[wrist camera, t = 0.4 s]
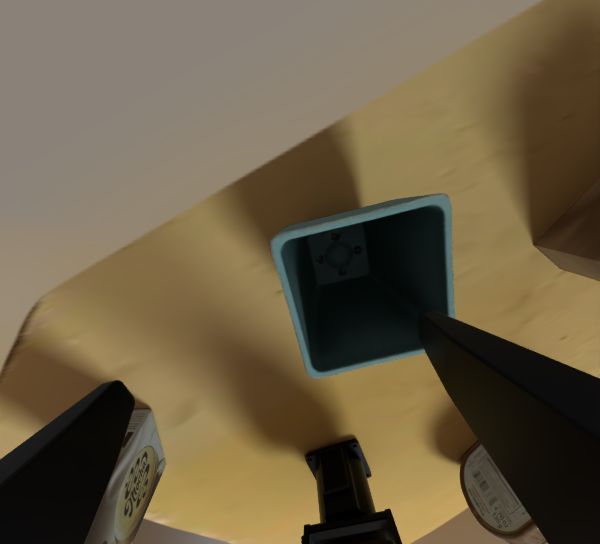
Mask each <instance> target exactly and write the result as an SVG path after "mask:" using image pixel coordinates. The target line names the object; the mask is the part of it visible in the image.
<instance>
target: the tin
mask: <svg viewBox="0 0 600 544" xmlns="http://www.w3.org/2000/svg"><path fill="white" fill-rule="evenodd" d="M460 483H461V488H462V491H463V494H464V497H465V499H466V502H467V504H468V506H469V508H470V509H471V512H472V513H473V515H474V516H475V518H476V519H477V521H478V522H479V523H480V524H481V525H482V526H483V527H484V528H485V529H486V530H488V531H489V532H490V533H492V534H494V535H495V536H497V537H499V538H501V539H503V540H505V541H507V542H508V543H510V544H547V543H548V542H547V541H546V539H545V538H544V536H543V535H542V534H541V532H540V531H539V529H538V528H537V526H536V525H535V523H534V522H533V520H532V519H531V517H530V516H529V514H528V513H527V511H526V510H525V508H524V507H523V505H522V504H521V502H520V501H519V499H518V498H517V496H516V495H515V493H514V492H513V490H512V489H511V487H510V486H509V484H508V483H507V481H506V480H505V478H504V477H503V475H502V474H501V472H500V471H499V469H498V468H497V466H496V465H495V463H494V462H493V460H492V459H491V457H490V456H489V454H488V453H487V451H486V450H485V449H484V447H483V446H482V444H481V443H480V441H478V442H477V443H475V444H474V445H473V446H472V447H471V448H470V449H469V450H468V451H467V452H466V454H465V455H464V457H463V459H462V462H461V466H460Z"/></svg>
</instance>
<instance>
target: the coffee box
mask: <svg viewBox="0 0 600 544" xmlns="http://www.w3.org/2000/svg"><path fill="white" fill-rule="evenodd" d="M165 466H166V463H165V459H164V455H163V451H162V448H161V444H160V440H159V437H158V433H157V429H156V426H155V422H154V418H153V414H152V411H151V410H150V409H140V410H133V413H132V416H131V419H130V422H129V426H128V429H127V432H126V435H125V439H124V442H123V445H122V448H121V452H120V455H119V458H118V461H117V464H116V466H115V469H114V472H113V474H112V477H111V479H110V482H109V484H108V487H107V489H106V492H105V494H104V497H103V499H102V502H101V504H100V507H99V509H98V512H97V514H96V517H95V519H94V522H93V524H92V527H91V529H90V532H89V534H88V537H87V539H86V542H85V544H132V543H133V541H134V538H135V536H136V534H137V531H138V529H139V527H140V524H141V522H142V520H143V517H144V515H145V513H146V510H147V508H148V506H149V503H150V501H151V499H152V496H153V494H154V492H155V489H156V487H157V485H158V482H159V480H160V478H161V475H162V473H163V471H164V469H165Z"/></svg>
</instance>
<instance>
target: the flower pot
mask: <svg viewBox="0 0 600 544" xmlns="http://www.w3.org/2000/svg"><path fill="white" fill-rule="evenodd" d="M333 234H337V235H338V238H337V239H336V240H334V239H332V235H333ZM356 247H359V248H360V252H359V253H355V252H354V249H355V248H356ZM270 248H271V252H272V256H273V259H274V262H275V266H276V269H277V272H278V275H279V278H280V281H281V285H282V288H283V292H284V295H285V298H286V301H287V305H288V308H289V311H290V315H291V318H292V322H293V325H294V329H295V332H296V336H297V340H298V343H299V347H300V351H301V354H302V357H303V361H304V365H305V369H306V372H307V374H308V375H309V376H310V377H311V378H313V379H316V378H322V377H327V376H331V375H337V374H339V373H344V372H348V371H351V370H355V369H359V368H362V367H367V366H371V365H375V364H380V363H384V362H388V361H393V360H397V359H401V358H405V357H409V356H414V355H418V354H423V353H426V352H425V350H424V348H423V346H422V344H421V342H420V339H419V315H420V314H421V313H424V312H429V311H437V312H439V313H442V314H444V315H447V316H449V317H451V318H454V319H455V301H454V284H453V282H454V278H453V260H452V259H453V256H452V250H453V249H452V248H453V247H452V207H451V202H450V199H449V196H448V195H446V194H443V193H441V194H432V195H425V196H416V197H409V198H402V199H395V200H390V201H386V202H382V203H378V204H375V205H371V206H367V207H363V208H359V209H355V210H351V211H347V212H343V213H339V214H335V215H331V216H327V217H323V218H319V219H315V220H311V221H307V222H303V223H299V224H294V225H290V226H287V227H285V228H284V229H282V230H281V231H280V232H279V233H277V234H276V235H275V236H273V237H272V239H271V241H270ZM319 256H321V257H323V261H322V262H318V261H317V258H318V257H319ZM341 269H344V270H345V273H344V274H343V275H341V274H340V273H339V271H340V270H341Z"/></svg>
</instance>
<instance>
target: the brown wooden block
mask: <svg viewBox="0 0 600 544" xmlns="http://www.w3.org/2000/svg"><path fill="white" fill-rule="evenodd" d="M534 246H535V247H536V248H537V249H538V250H539V251H540V252H542V253H543V254H544V255H545V256H546V257H547V258H548V259H550V260H551V261H552V262H553V263H554V264H555V265H556V266H557V267H559V268H560V269H562V270H565V271H569V272H572V273H575V274H578V275H581V276H585V277H588V278H591V279H594V280H597V281H600V178H599V179H598V180H597V181H596V182H595V183H594V184H593V185H592V186H591V187H590V188H589V189H588V190H587V191H586V192H585V193H584V194H583V195H582V196H581V197H580V198H579V199H578V200H577V201H576V202H575V203H574V204H573V205H572V206H571V207H570V208H569V209H568V210H567V211H566V212H565V213H564V214H563V215H562V216H561V217H560V218H559V219H558V220H557V221H556V223H555V224H554V225H553V226H552V227H551V228H550V229H549V230H548V231H547V232H546V233H545V234H544V235H543V236H542V237H541V238H540V239H539V240H538V241H537V242H536V243H535V244H534Z"/></svg>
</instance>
